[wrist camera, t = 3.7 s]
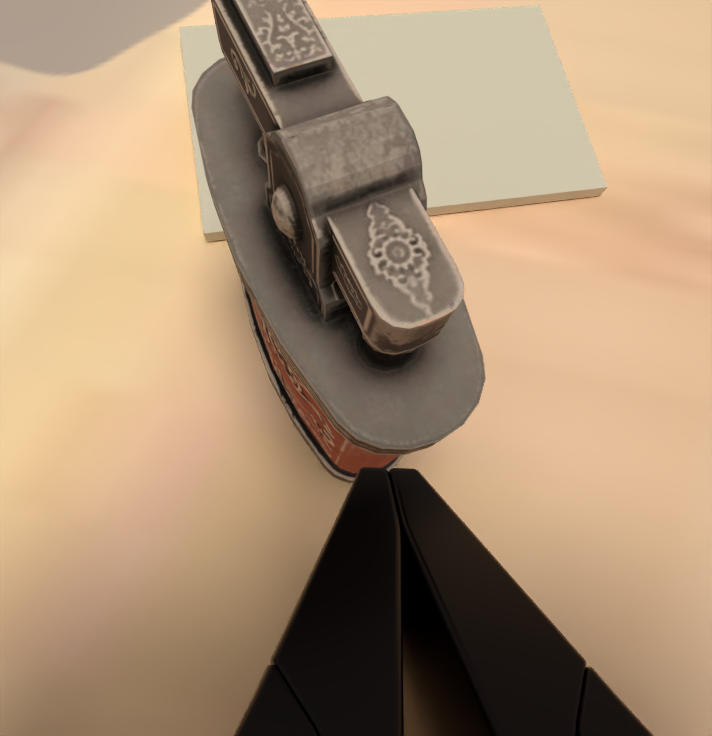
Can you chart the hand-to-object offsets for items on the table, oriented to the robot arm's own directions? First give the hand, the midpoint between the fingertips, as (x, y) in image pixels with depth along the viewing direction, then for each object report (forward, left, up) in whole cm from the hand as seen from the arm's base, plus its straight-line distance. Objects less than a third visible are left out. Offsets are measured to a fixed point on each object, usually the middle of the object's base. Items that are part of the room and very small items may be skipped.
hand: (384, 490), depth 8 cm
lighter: (0, +4, -7) cm, 9 cm away
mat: (+4, +13, -7) cm, 16 cm away
